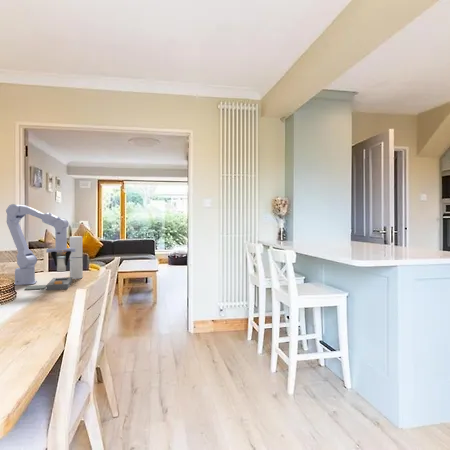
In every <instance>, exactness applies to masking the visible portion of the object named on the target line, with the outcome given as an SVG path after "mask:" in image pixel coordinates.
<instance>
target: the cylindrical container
mask: <svg viewBox="0 0 450 450" xmlns="http://www.w3.org/2000/svg"><path fill="white" fill-rule="evenodd" d="M69 248H76V252H71V254H70V257H69V277H72V280H79V279H83V277H84V276H83V274H84V273H83V270H84V269H83V265H84V263H83V260H84V259H83V256H84V255H83V235H82V236H81V235H79V236H78V235H77V236H74V235H73V236H69Z"/></svg>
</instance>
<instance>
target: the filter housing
mask: <svg viewBox="0 0 450 450" xmlns="http://www.w3.org/2000/svg"><path fill="white" fill-rule="evenodd" d="M55 281H62V284H54V282H55ZM72 283H73V279H72V277H70V276H69V277H67V276H65V277H52V279H51V280H49V282H48V283H47V284H45V285H46V288H45V289H46V291H55V290H68V289H69V288H70V286H71V285H72Z"/></svg>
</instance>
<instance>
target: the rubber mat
mask: <svg viewBox="0 0 450 450" xmlns="http://www.w3.org/2000/svg"><path fill="white" fill-rule="evenodd" d="M46 285H47V284H41V285H39V284H38V285H37V284H36V285H35V284H34V285H26V287H25V288H24V291H35V290H36V291H37V290H40V289H41V290H45V289H46Z"/></svg>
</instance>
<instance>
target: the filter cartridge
mask: <svg viewBox="0 0 450 450" xmlns="http://www.w3.org/2000/svg"><path fill="white" fill-rule="evenodd" d="M56 259H57V266H56V272H57V273H59V272H60V273H62V272H66V271H67V265H66V255H65V256H64V255H63V256H61V255H60V256H57V257H56Z"/></svg>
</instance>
